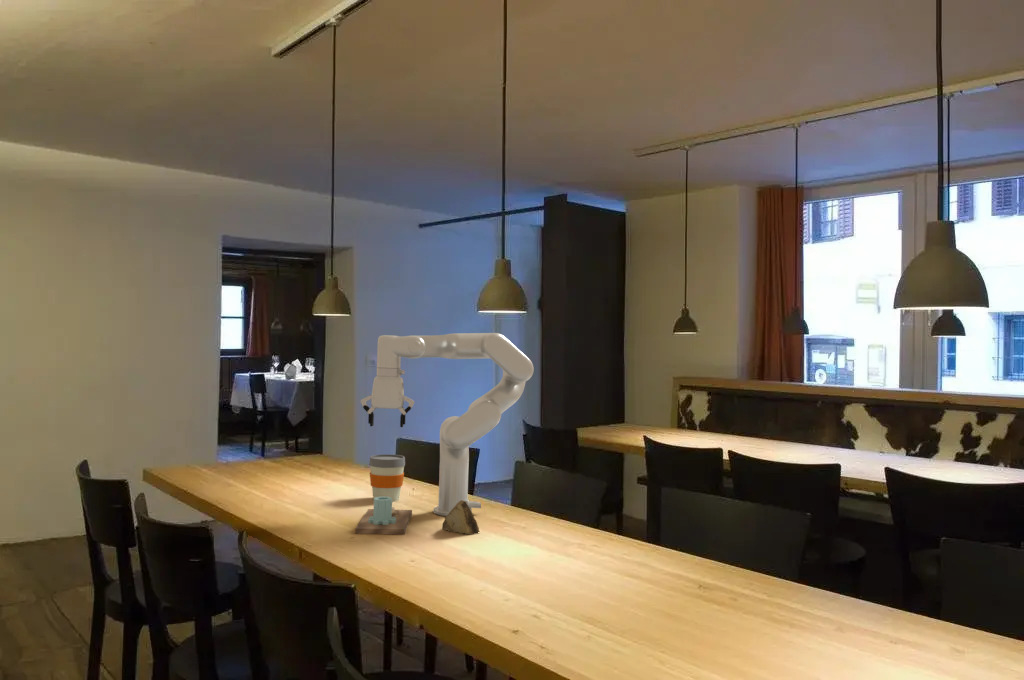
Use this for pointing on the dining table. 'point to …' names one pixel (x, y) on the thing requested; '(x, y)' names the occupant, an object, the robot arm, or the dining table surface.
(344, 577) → the dining table surface
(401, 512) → the gear board
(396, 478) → the reusable coffee cup
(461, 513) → the rock
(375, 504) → the loose cog
